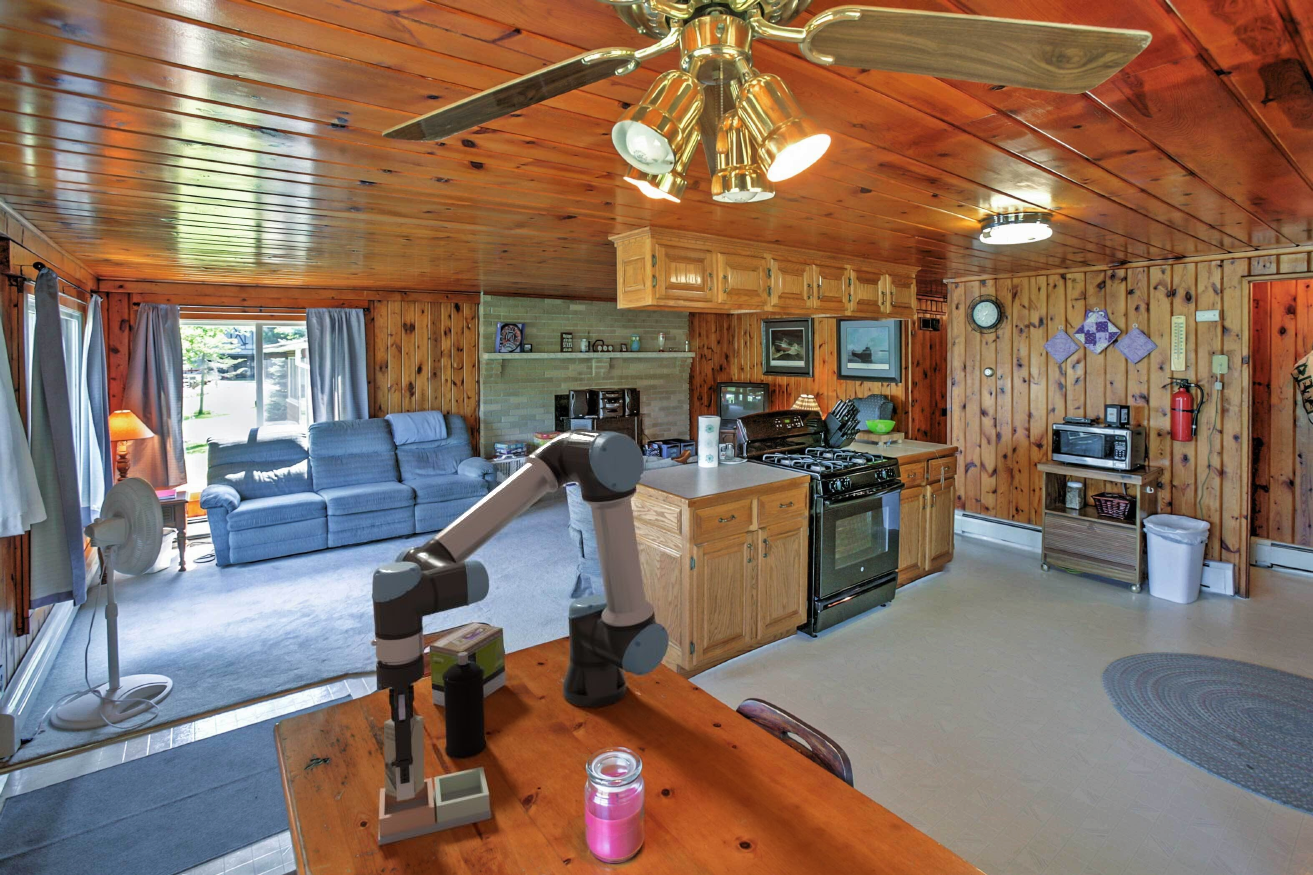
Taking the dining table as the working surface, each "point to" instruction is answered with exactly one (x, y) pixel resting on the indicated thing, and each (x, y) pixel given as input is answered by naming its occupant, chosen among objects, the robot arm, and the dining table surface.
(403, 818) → the socket board
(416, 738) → the box
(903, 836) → the dining table surface
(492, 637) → the tea box
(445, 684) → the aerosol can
